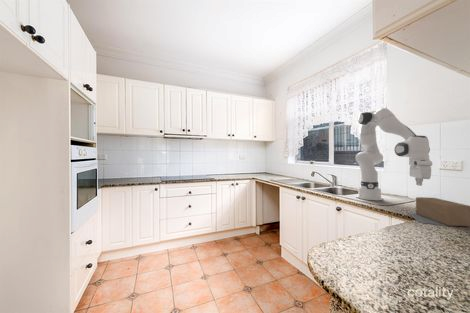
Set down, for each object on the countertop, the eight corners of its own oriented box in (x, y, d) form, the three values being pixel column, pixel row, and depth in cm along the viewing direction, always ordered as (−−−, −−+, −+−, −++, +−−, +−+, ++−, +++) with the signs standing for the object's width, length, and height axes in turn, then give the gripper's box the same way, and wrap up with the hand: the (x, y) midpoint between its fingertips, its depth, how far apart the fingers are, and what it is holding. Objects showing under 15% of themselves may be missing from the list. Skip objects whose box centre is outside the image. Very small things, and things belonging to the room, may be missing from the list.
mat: (407, 213, 117) (407, 213, 117) (434, 216, 111) (434, 216, 111) (419, 222, 101) (419, 222, 101) (452, 226, 95) (452, 225, 95)
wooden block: (434, 214, 114) (471, 226, 94) (415, 214, 115) (448, 225, 95) (434, 197, 114) (471, 205, 94) (415, 197, 115) (447, 205, 95)
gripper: (406, 161, 127) (406, 183, 127) (418, 162, 109) (418, 187, 109) (419, 162, 124) (419, 183, 124) (433, 162, 106) (434, 187, 106)
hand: (419, 185), depth 116 cm, fingers closed
